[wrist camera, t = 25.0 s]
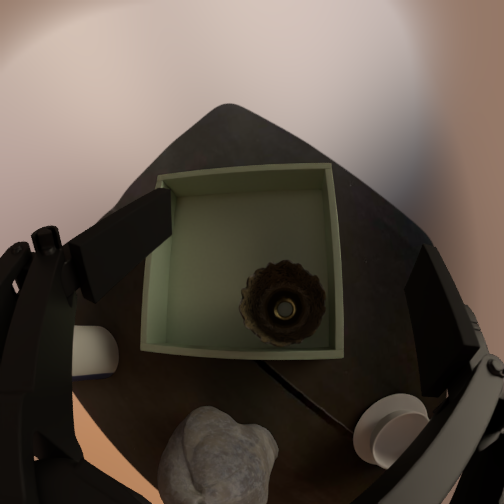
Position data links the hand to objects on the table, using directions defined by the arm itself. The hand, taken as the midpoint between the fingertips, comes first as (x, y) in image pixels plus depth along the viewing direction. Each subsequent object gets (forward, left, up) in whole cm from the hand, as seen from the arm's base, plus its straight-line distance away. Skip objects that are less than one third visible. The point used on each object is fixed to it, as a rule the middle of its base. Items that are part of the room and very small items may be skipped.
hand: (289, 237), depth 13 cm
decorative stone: (-20, +6, -20) cm, 29 cm away
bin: (+3, +5, -20) cm, 21 cm away
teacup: (-18, -13, -20) cm, 30 cm away
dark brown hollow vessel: (-2, +1, -19) cm, 19 cm away
